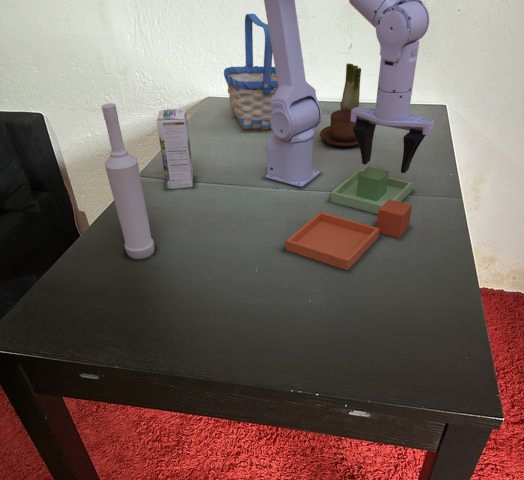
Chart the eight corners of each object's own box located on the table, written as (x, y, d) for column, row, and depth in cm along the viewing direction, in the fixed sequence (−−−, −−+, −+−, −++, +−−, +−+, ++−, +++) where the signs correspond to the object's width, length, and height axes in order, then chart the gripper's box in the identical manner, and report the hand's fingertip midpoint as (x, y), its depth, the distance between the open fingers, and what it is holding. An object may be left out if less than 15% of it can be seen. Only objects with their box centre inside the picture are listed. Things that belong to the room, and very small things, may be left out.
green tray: (330, 201, 106) (330, 192, 104) (357, 178, 113) (358, 169, 112) (386, 216, 100) (387, 207, 99) (411, 191, 108) (412, 182, 106)
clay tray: (285, 250, 93) (285, 240, 92) (319, 220, 100) (320, 211, 99) (347, 270, 88) (348, 260, 86) (378, 237, 95) (379, 228, 94)
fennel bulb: (359, 116, 140) (364, 67, 132) (341, 117, 140) (344, 67, 132) (356, 109, 144) (360, 60, 136) (338, 109, 144) (341, 61, 136)
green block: (356, 196, 106) (358, 174, 103) (366, 187, 109) (368, 166, 106) (376, 201, 104) (379, 179, 101) (386, 192, 107) (389, 171, 104)
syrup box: (167, 178, 116) (156, 109, 106) (194, 176, 116) (185, 107, 106) (166, 189, 112) (154, 119, 102) (194, 187, 112) (185, 117, 102)
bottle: (160, 246, 95) (132, 101, 78) (147, 261, 92) (114, 113, 75) (135, 242, 97) (102, 98, 80) (121, 257, 93) (83, 110, 76)
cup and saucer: (377, 137, 129) (380, 111, 125) (356, 154, 122) (359, 127, 118) (333, 128, 134) (335, 103, 130) (311, 145, 127) (312, 118, 123)
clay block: (375, 231, 97) (378, 209, 93) (385, 221, 99) (389, 199, 96) (398, 238, 95) (402, 215, 92) (408, 227, 97) (412, 205, 94)
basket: (299, 131, 134) (300, 25, 118) (235, 139, 131) (228, 31, 115) (279, 105, 148) (278, 7, 132) (222, 111, 146) (214, 13, 130)
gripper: (445, 87, 87) (430, 166, 96) (365, 75, 93) (358, 151, 102) (430, 99, 83) (416, 181, 92) (347, 86, 89) (342, 164, 98)
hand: (385, 166), depth 97 cm, fingers open, 7 cm apart
